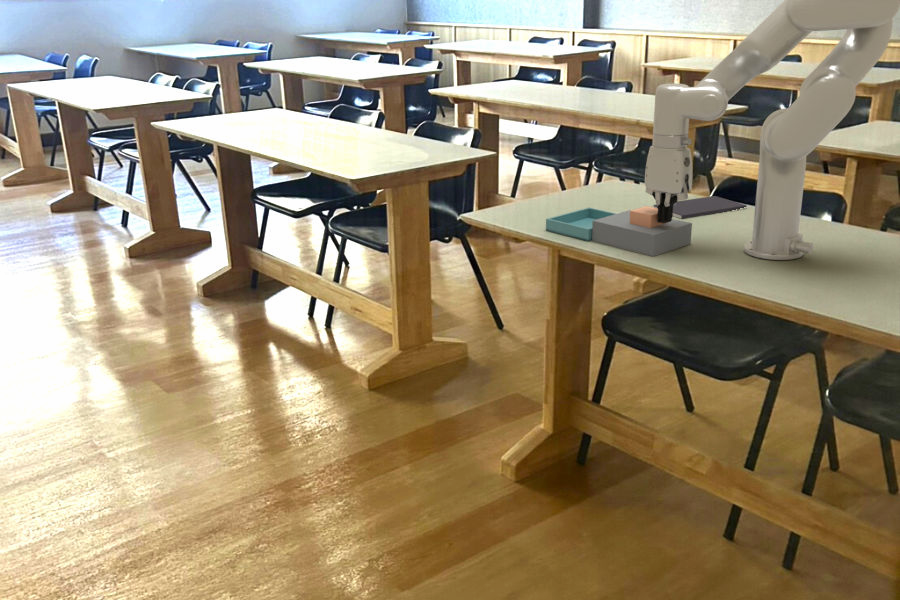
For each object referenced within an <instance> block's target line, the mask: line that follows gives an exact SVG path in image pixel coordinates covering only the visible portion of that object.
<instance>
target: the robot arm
mask: <svg viewBox="0 0 900 600" xmlns="http://www.w3.org/2000/svg"><path fill="white" fill-rule="evenodd" d="M899 9H900V0H783V1H782V2H781V3H780V4H779V5H778V6H777V7H776V8H775V9H774V10H773V11H772V12H771V13H770V14H769V15H768V16H767V17H766V18H765V19H763V21H761V23H759V25H757V27H756V28H755V29H754V30H752V31H751V32H750V33H749V34H748V35H747V36H746V37H745V38H744V39H742V41H741V42H740V43H739V44H738V45H737V46H736V47H735V48H734V49H732V51H730V53H729V54H728V55H726V56H725V58H723V59H722V60H721V61H720V62H719V63H718V64H717V65H716V66H715V67H714V68H713V69H712V70H710V71H709V73H707V74H706V76H704V77H703V78H702V79H701V80H700V81H699V82H698V83H697V84H696V86H691V87H690V86H689V85H688V84H684V83H662V84H659V85H658V86H657V87H656V89H655V96H654V108H653V109H654V112H653V127H652V128H653V129H652V145H651V146H649V150H648V154H647V158H646V162H645V163H646V164H645V173H644V186H645V193H646V194H649V195H650V196H652V197H653V199H654V200H655V205H656V204H657V205H658V215H657V216H658V222H659V223H668V222H671V221H672V219H673V217H674V216H673V205H675V204H676V202H677V201H683V200H689V195H688V192H691V190H692V188H693V158H692V152H691V148H690V147H688V146H690V145H691V144H692V139H691V138H690V137H689V126H690V125H689V124H690V119H691V120H699V121H706V122H708V121H715V120H717V119H719V118H721V117H722V116H723V115H724V114H725V112H726V111H727V109H728V104H729V101H730V100H731V99H732V98H733V97H734V96H735V95H736V94H737V93H738V92H739V91H740V90H741V89H743V88H744V87H745V86H746V85H748V83H750V82H751V81H752V80H754V79H755V78H757V77H758V76H760V75H762V74H764V73H766V72H769V71H770V70H771V69H773V68H774V67H776V66H777V65H778V64H779V63H780V62H781V61H782V60H783V59H784V58H786V56H788V55H789V54H790V52H792V51H793V50H794V49H795V48H796V47H797V46H799V44H800V43H802V42H803V40H804V39H806V38H807V37H808V36H809V35H810V34H812V32H822V31H823V32H824V31H841V30H846V31H845V33H844V34H843V36H842V38H841V39H840V40H839V41H838V43H837V44H836V45H834V48H832V50H831V51H830V52H829V53H828V55H826V57H825V58H824V59H823V60H822V61H821V62H820V63H819V64H818V65H817V67H816V68H814V70H813V71H811V72H810V73H809V74H808V75H807V77H806V78H805V79H804V80H803V82H801V86H800V88H799V96H798V97H797V98H796V99H795V101H793V103H792V104H791V105H790V106H789V107H788V108H787V107H785V108H780V109H777V110H776V111H773V112H772V113H770V114H769V115H768V116H767V117H766V119H765V120H764V122H763V123H762V125H761V126H762V127H761V129H760V137H759V162H758V163H759V164H758V174H757V183H756V194H755V203H754V204H755V206H754V214H753V215H754V217H753V226H752V236H751V241H748V242H746V243H745V244H744V246H743V251H744V252H745V253H746V254H747V255H749V256H752V257H755V258H758V259H763V260H764V259H765V260H770V261H771V260H772V261H773V260H774V261H787V260H794V259H795V260H796V259H799V258H801V257H803V255H804V254H809V255H812V253H813V251H814V243H813V242H809V241H804V240H803V237H804V235H803V233H799V232H800V222H801V213H802V212H801V211H802V205H803V204H802V203H803V195H804V188H805V186H804V185H805V179H806V168H807V156H808V155H809V154H811V153H812V152H813V151H814V150H815V148H817V147H818V145H819V144H820V143H821V142H823V140H824V139H825V138H826V137H827V136H828V135H829V134H830V133H831V132H832V131H833V130H834V129H835V127H837V125H838V124H839V123H840V122H842V120H843V119H844V118H845V117H846V116H847V115H848V113H849V112H850V110H852V107H853V105H854V103H855V100H856V95H857V93H856V87H857V86H858V85H859V84H860V82H862V80H863V79H865V77H866V75H868V74H869V72H870V71H871V70H872V69H873V68H874V67H875V65H876V64H877V63H878V62H879V61H880V59H881V58H882V56H883V55H884V53H885V51H886V50H887V48H888V45H889V43H890V39H891V36H892V33H893V22H894V21H893V19H894V17H896V15H897V13H898V12H899Z"/></svg>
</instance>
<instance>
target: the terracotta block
mask: <svg viewBox="0 0 900 600" xmlns="http://www.w3.org/2000/svg"><path fill="white" fill-rule="evenodd" d="M630 210H631V211H630V223H631V224H635V225H639V226H644V227H648V228H652V227H655V226H659V225H662V224H665V223H659V222H658V216H657V215H658V208H654V206H653V207H652V206H647V205H646V206H642V207H639V208H636V209H630Z"/></svg>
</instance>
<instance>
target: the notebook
mask: <svg viewBox="0 0 900 600" xmlns="http://www.w3.org/2000/svg"><path fill="white" fill-rule="evenodd" d="M744 207H747V204H744V203H741V202H737V201H733V200H731V199H730V200H729V199H727V198H725V197H724V198H723V197H720V196H717V195H712V196H711V195H710V196H705V197H698V198H697V197H696V198H691V199H685V200H679V201H677V202H676V204H675V205H673V217H675V218H677V219H681V220H685V219H692V218H697V217H698V218H699V217H705V216H711V215H716V214H717V213H718V214H722V213H723V212H724V213H728V212H727V211H730V212H733V211H732V210H736V209H740V208H744ZM653 208H658V205H657V204H656V203H655V204H653ZM724 213H723V214H724Z"/></svg>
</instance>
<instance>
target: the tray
mask: <svg viewBox="0 0 900 600" xmlns="http://www.w3.org/2000/svg"><path fill="white" fill-rule="evenodd" d="M614 214H617V213H616V212H611V211H606V210H604V209H597V208H593V207H586V208H583V209H578V210H573V211H571V212H566V213H563V214H559V215H556V216H552V217H549V218H545V231H546V232H551V233H553V234H558V235H562V236H566V237H570V238H574V239H577V240H581V241H584V242H590V241H591V242H593V241H592V223H593V220H597V219H600V218H604V217H607V216H611V215H614Z"/></svg>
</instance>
